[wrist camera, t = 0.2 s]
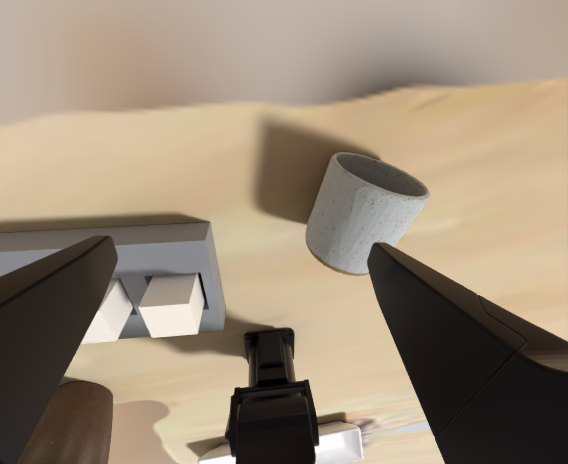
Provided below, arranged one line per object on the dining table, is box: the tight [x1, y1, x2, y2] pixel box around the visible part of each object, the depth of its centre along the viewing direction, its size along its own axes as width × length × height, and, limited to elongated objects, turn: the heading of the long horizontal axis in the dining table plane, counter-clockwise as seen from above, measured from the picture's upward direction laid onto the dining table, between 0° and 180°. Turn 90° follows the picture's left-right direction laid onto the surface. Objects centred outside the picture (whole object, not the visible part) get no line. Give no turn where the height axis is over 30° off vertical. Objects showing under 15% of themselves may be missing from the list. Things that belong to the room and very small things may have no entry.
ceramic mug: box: [306, 152, 430, 276], centre depth 22 cm, size 11×8×8 cm
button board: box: [0, 222, 226, 339], centre depth 26 cm, size 12×21×3 cm, turn 90°
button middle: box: [81, 278, 134, 344], centre depth 24 cm, size 4×4×4 cm
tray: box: [198, 421, 363, 464], centre depth 54 cm, size 17×32×4 cm, turn 102°
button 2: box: [138, 273, 205, 338], centre depth 24 cm, size 4×4×4 cm
